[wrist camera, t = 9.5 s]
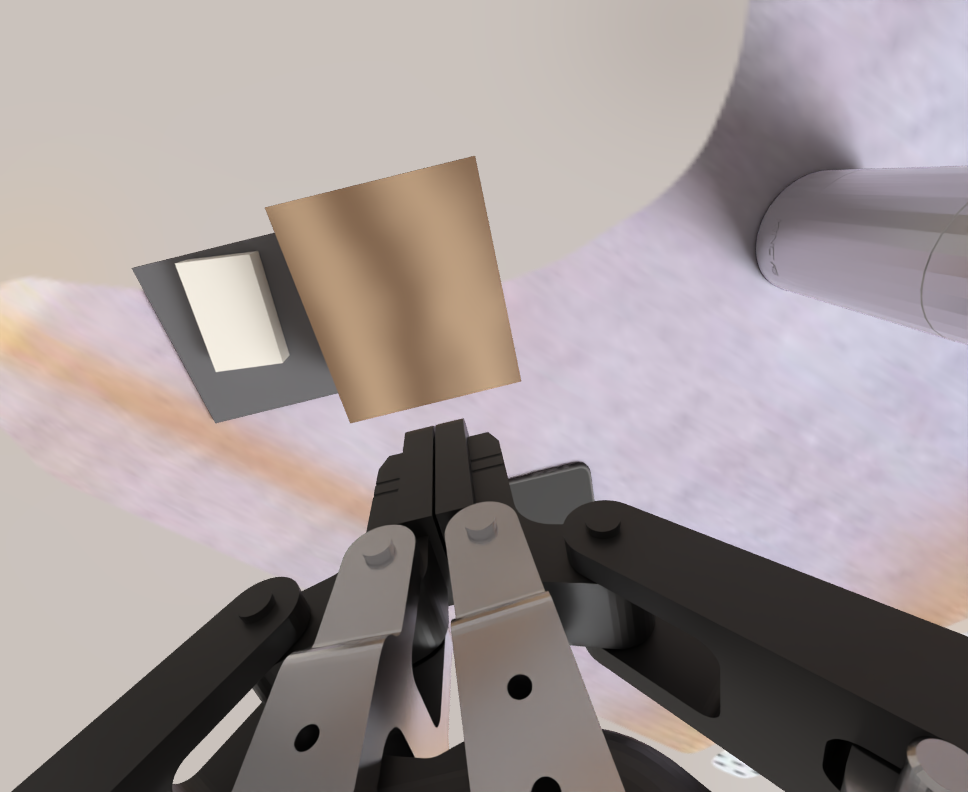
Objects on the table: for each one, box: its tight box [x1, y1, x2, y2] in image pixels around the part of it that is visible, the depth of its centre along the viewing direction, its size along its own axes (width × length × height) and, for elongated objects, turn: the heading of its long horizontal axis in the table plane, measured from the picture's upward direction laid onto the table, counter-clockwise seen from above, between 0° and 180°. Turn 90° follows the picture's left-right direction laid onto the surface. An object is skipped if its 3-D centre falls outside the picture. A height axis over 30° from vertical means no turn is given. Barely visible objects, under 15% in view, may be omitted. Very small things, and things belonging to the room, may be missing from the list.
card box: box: [175, 251, 289, 372], centre depth 34 cm, size 5×8×2 cm, turn 6°
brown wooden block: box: [265, 156, 521, 423], centre depth 32 cm, size 12×14×8 cm
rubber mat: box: [132, 233, 338, 423], centre depth 36 cm, size 13×13×1 cm
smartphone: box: [508, 463, 594, 524], centre depth 46 cm, size 7×1×15 cm
